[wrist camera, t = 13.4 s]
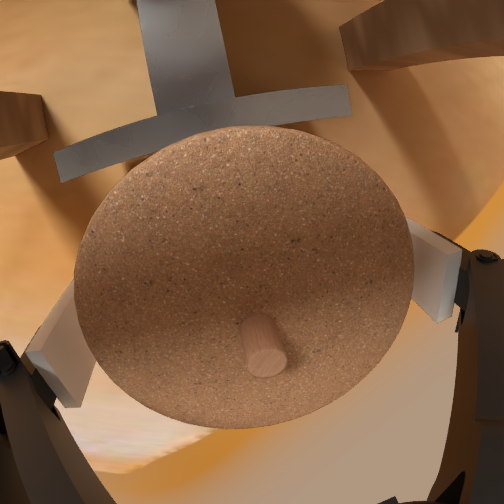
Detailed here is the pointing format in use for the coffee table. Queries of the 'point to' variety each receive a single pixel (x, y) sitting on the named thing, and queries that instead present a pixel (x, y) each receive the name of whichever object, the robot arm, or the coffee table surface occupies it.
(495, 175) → the coffee table surface
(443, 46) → the bridge
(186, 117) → the cube and plate dumbbell
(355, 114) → the coffee table surface
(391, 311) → the lidded jar
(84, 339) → the robot arm
